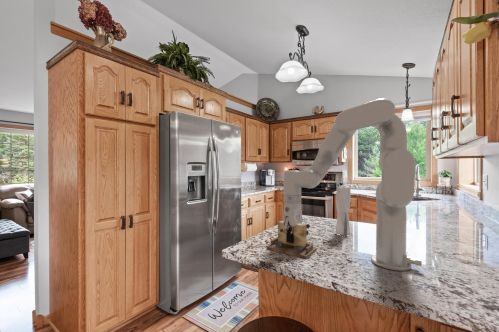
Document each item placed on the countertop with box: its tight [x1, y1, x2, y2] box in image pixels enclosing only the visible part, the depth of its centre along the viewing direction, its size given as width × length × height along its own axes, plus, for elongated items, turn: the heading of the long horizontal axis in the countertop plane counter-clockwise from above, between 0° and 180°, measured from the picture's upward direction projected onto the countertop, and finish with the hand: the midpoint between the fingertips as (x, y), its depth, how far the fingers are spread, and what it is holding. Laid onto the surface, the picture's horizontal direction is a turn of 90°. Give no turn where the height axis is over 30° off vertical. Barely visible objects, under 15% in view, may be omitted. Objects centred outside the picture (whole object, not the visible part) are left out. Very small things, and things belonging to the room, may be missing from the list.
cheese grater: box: [335, 182, 352, 238], centre depth 125 cm, size 8×8×28 cm
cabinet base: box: [266, 236, 318, 259], centre depth 100 cm, size 18×12×3 cm, turn 55°
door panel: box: [277, 220, 308, 248], centre depth 100 cm, size 12×4×9 cm, turn 55°
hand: (291, 241), depth 100 cm, fingers closed on door panel, 3 cm apart
